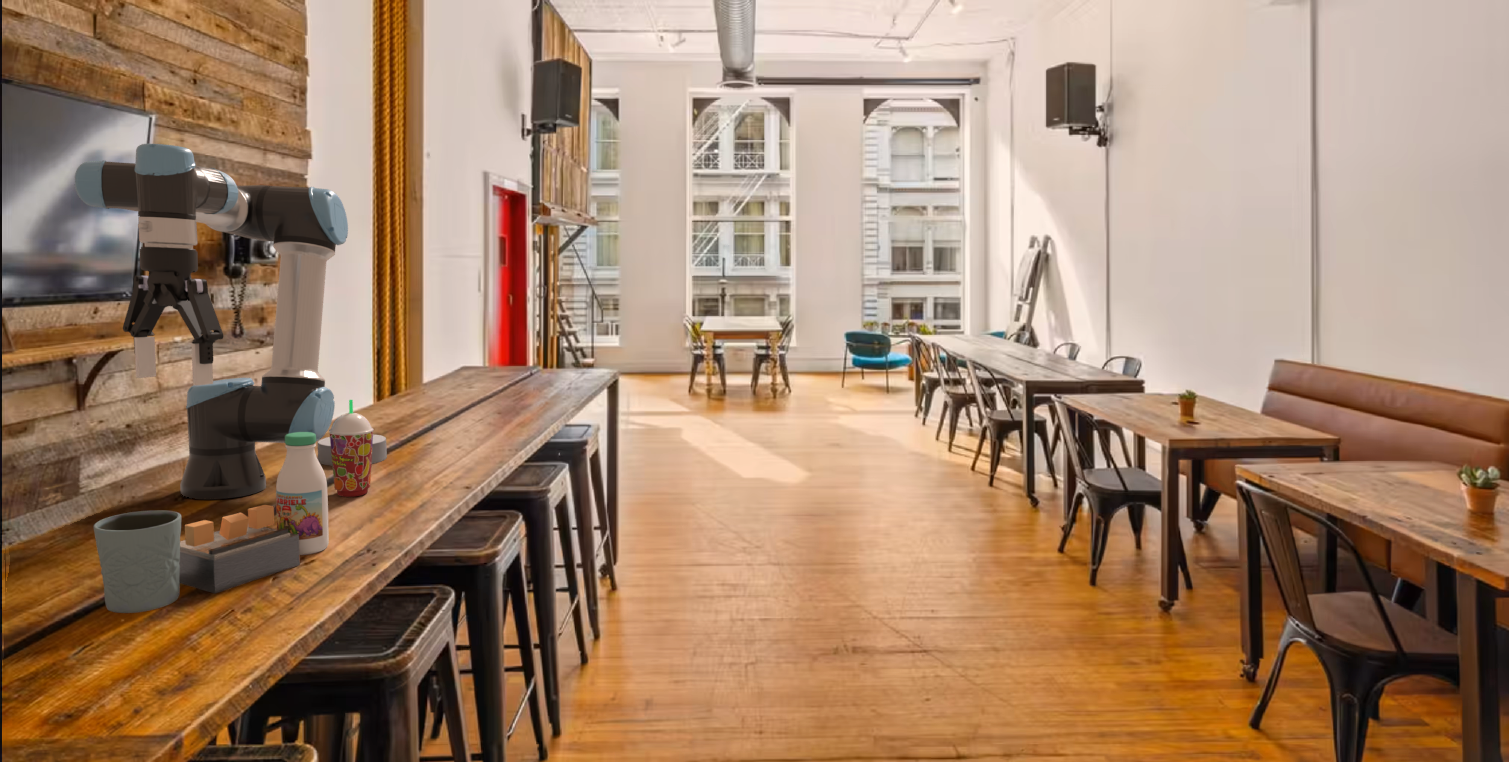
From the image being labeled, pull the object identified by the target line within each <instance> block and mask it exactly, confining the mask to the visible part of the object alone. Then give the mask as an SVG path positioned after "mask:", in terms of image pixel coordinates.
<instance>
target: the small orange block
mask: <svg viewBox="0 0 1509 762" xmlns="http://www.w3.org/2000/svg"><path fill="white" fill-rule="evenodd" d="M248 523H249V517H248V515H246V514H244V513H243V512H238V513H234V514H229V515H226V516H223V517H221V523H220V528H219V531H220V533H219V534H220V535H221V536H223V537H224V538H226V539H227V540H229V539H233V538H236V537H240V536H243V535H246V533H247V528H248Z"/></svg>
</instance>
